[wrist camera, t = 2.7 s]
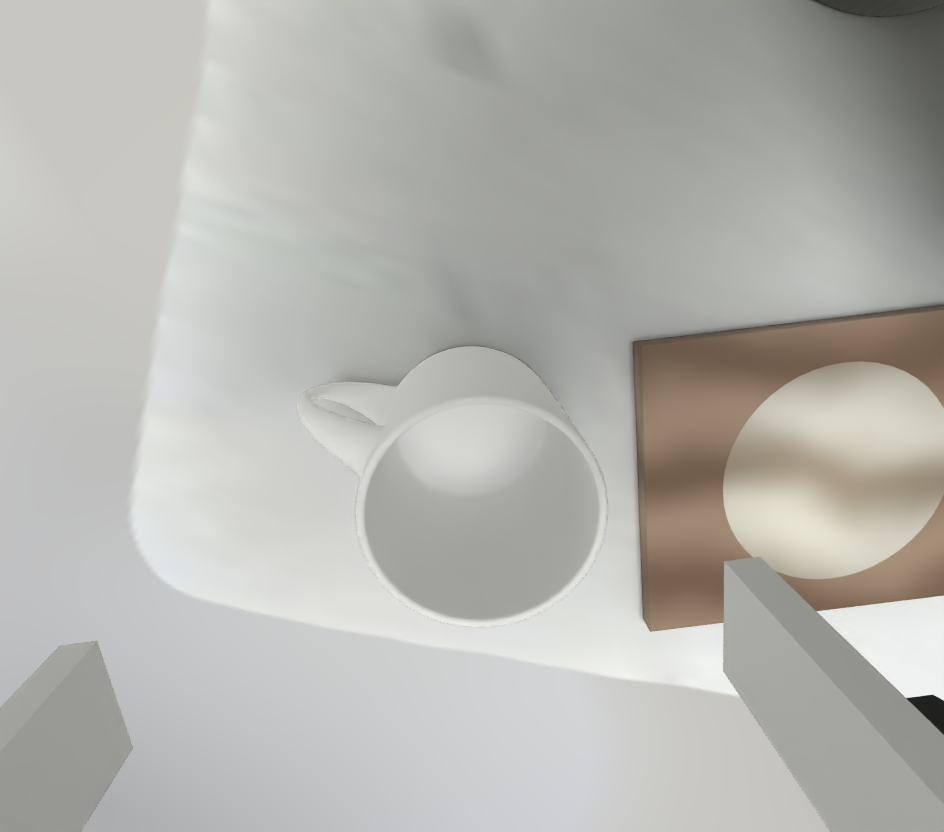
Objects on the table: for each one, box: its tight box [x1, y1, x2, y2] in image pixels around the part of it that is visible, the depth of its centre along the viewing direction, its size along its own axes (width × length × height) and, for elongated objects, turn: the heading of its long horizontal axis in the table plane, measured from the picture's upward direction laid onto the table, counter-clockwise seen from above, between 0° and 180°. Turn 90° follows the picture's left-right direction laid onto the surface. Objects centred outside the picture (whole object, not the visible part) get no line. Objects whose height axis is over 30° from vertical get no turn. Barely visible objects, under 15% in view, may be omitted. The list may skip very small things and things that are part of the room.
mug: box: [297, 346, 608, 627], centre depth 25 cm, size 9×12×11 cm
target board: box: [633, 305, 944, 632], centre depth 31 cm, size 16×20×1 cm
